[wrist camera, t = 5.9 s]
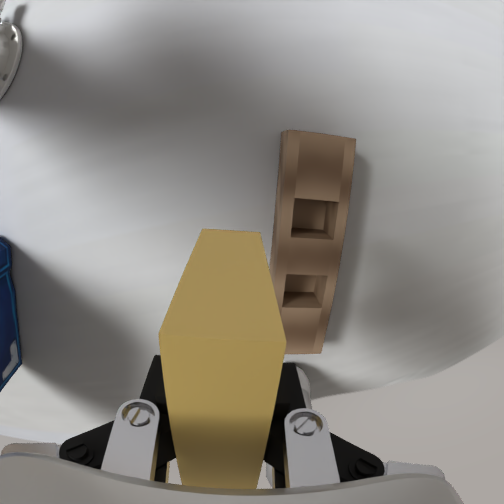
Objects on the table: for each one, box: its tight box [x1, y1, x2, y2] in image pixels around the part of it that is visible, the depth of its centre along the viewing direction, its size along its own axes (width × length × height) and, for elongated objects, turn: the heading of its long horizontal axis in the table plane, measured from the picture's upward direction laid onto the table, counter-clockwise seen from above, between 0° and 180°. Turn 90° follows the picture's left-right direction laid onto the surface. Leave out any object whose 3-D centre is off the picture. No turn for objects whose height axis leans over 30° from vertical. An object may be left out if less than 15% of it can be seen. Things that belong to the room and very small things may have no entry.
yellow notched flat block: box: [159, 229, 287, 489], centre depth 11 cm, size 9×2×8 cm, turn 175°
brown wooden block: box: [269, 130, 356, 354], centre depth 29 cm, size 22×6×4 cm, turn 176°
